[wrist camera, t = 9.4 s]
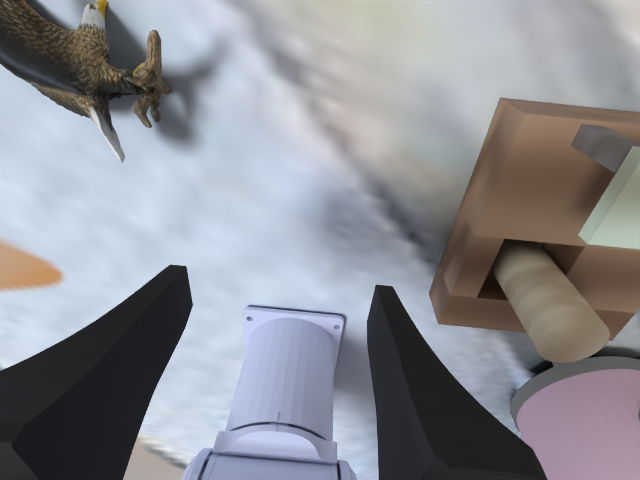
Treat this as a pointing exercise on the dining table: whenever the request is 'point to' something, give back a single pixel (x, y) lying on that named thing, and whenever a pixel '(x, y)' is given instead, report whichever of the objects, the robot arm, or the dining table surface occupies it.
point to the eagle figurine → (79, 65)
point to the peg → (548, 303)
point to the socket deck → (548, 212)
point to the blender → (583, 418)
